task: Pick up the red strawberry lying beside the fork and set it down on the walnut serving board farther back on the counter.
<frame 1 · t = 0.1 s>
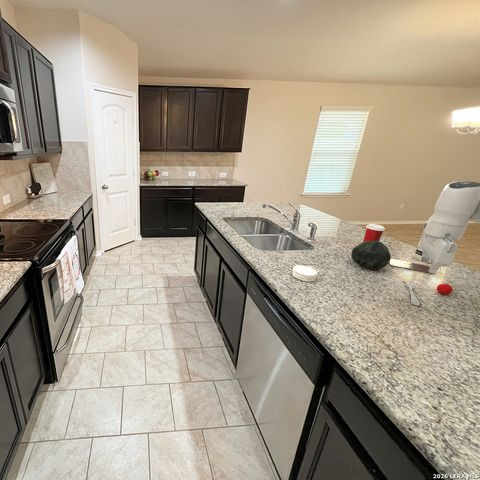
hand: (427, 267, 90), 17 cm above the table, tool pointing down, fingers open, 8 cm apart
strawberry: (444, 289, 104), point 2 cm above the table
fork: (410, 293, 105), on the table
coffee cup: (367, 250, 147), on the table
coaster: (303, 276, 117), on the table
serving board: (409, 266, 128), on the table
supplement can: (423, 260, 135), on the table
squash: (367, 266, 128), on the table
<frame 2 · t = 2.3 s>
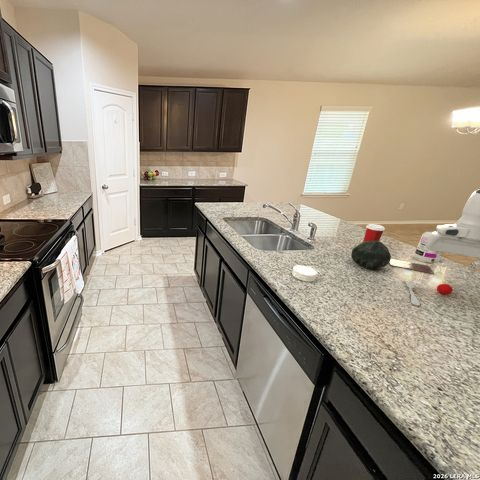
hand: (455, 264, 99), 14 cm above the table, tool pointing down, fingers open, 8 cm apart
nothing on the table moved.
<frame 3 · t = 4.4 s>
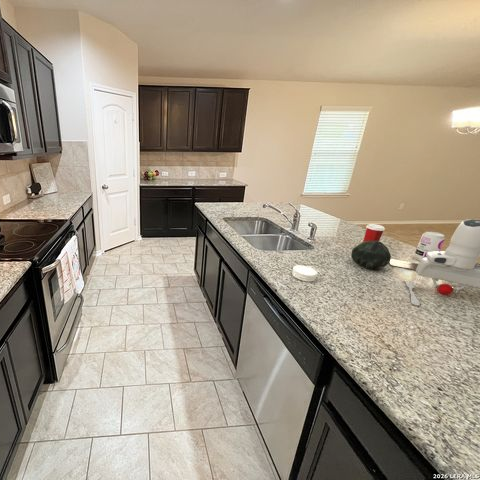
hand: (444, 290, 104), 2 cm above the table, tool pointing down, fingers closed on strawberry, 4 cm apart
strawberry: (444, 289, 104), point 2 cm above the table, touching gripper
everything else where it was.
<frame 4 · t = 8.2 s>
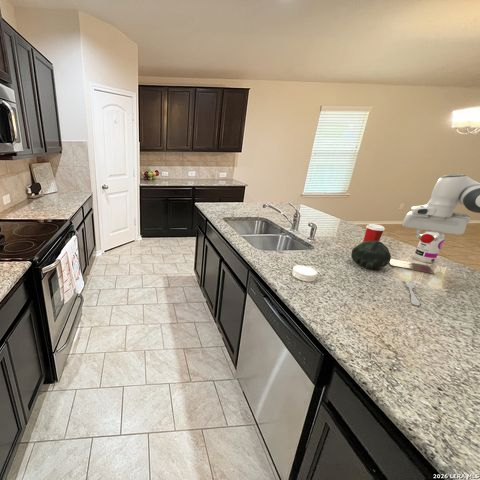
hand: (426, 239, 119), 16 cm above the table, tool pointing down, fingers closed on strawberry, 4 cm apart
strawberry: (426, 238, 119), point 17 cm above the table, touching gripper
everything else where it was.
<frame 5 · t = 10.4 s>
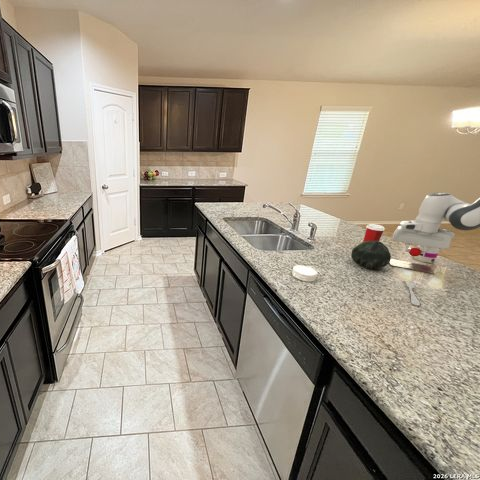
hand: (414, 252, 126), 7 cm above the table, tool pointing down, fingers closed on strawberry, 4 cm apart
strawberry: (414, 251, 126), point 8 cm above the table, touching gripper
everything else where it was.
when the fingers open (2 cm above the table, at t = 12.1 s): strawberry stays where it is, resting on serving board.
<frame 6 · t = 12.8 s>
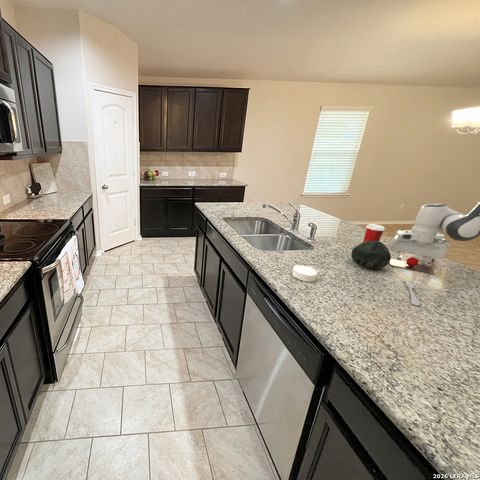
hand: (411, 261, 127), 2 cm above the table, tool pointing down, fingers open, 8 cm apart
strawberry: (412, 261, 127), point 3 cm above the table, tilted 11°, touching serving board
everything else where it was.
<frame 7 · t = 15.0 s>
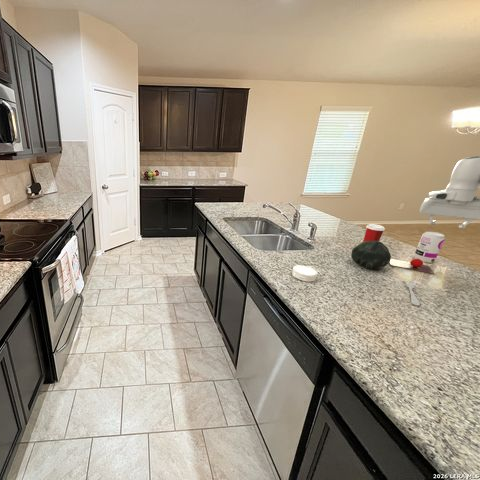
hand: (446, 226, 113), 24 cm above the table, tool pointing down, fingers open, 8 cm apart
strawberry: (416, 263, 126), point 3 cm above the table, tilted 56°, touching serving board
everything else where it was.
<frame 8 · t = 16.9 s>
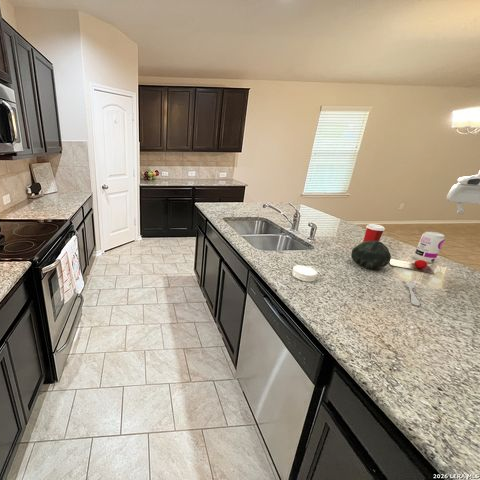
hand: (476, 215, 103), 31 cm above the table, tool pointing down, fingers open, 8 cm apart
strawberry: (420, 264, 125), point 3 cm above the table, tilted 95°, touching serving board
everything else where it was.
at the end: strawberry inside the target area on the serving board (3.8 cm from its centre), point 2.6 cm above the serving board's base; the gripper is holding nothing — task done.
